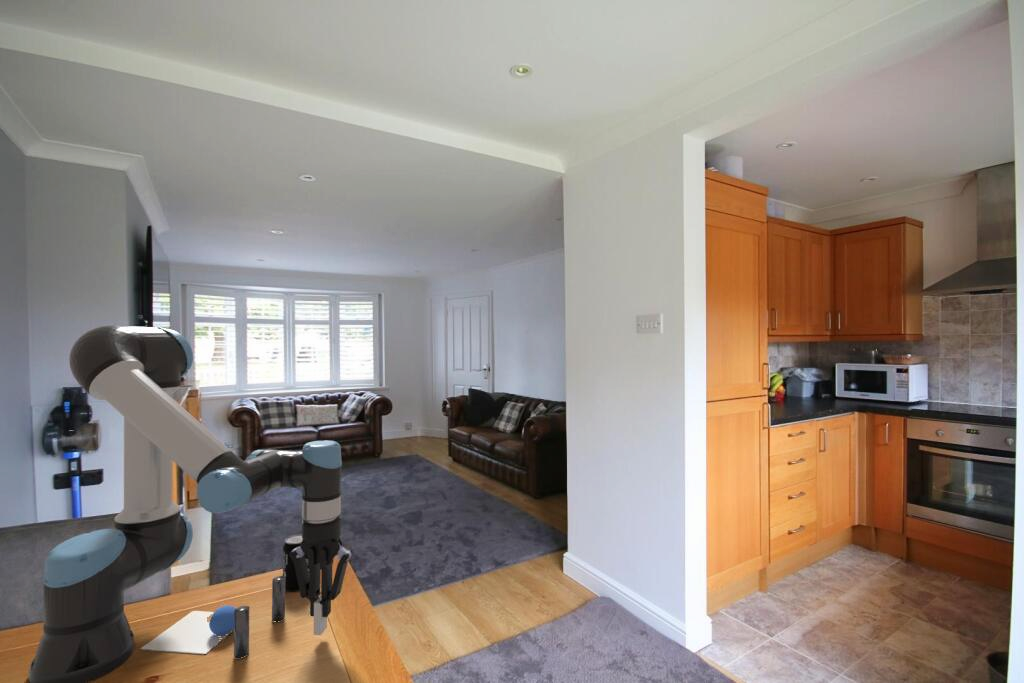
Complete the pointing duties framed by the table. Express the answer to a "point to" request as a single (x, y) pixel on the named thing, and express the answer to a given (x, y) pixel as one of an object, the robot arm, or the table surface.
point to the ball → (222, 620)
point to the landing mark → (187, 636)
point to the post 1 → (241, 631)
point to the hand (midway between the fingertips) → (320, 631)
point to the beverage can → (291, 562)
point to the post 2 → (278, 598)
